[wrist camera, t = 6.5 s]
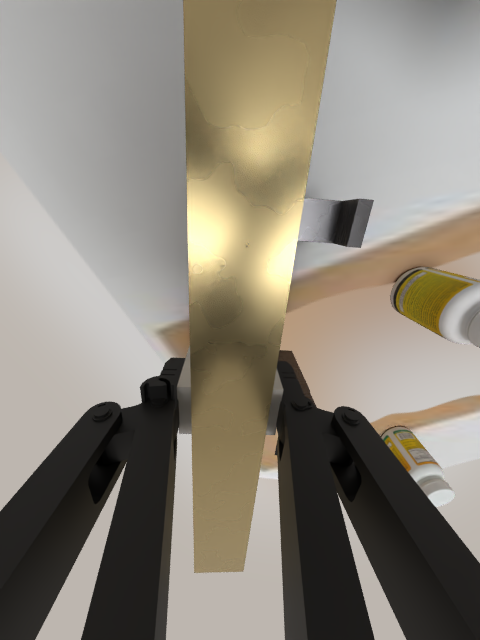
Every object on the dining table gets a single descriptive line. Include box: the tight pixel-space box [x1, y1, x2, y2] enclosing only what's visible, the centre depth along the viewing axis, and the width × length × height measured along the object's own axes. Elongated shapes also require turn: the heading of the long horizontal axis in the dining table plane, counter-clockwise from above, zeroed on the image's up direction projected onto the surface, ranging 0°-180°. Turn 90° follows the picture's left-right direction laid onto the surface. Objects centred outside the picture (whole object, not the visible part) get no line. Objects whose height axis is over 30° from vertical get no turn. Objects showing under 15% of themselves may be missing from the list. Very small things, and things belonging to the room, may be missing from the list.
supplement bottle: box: [381, 427, 455, 507], centre depth 36 cm, size 5×5×10 cm
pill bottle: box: [390, 267, 480, 348], centre depth 24 cm, size 6×6×11 cm
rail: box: [183, 0, 337, 573], centre depth 11 cm, size 24×3×4 cm, turn 176°
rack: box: [278, 198, 374, 408], centre depth 24 cm, size 22×6×10 cm, turn 176°
